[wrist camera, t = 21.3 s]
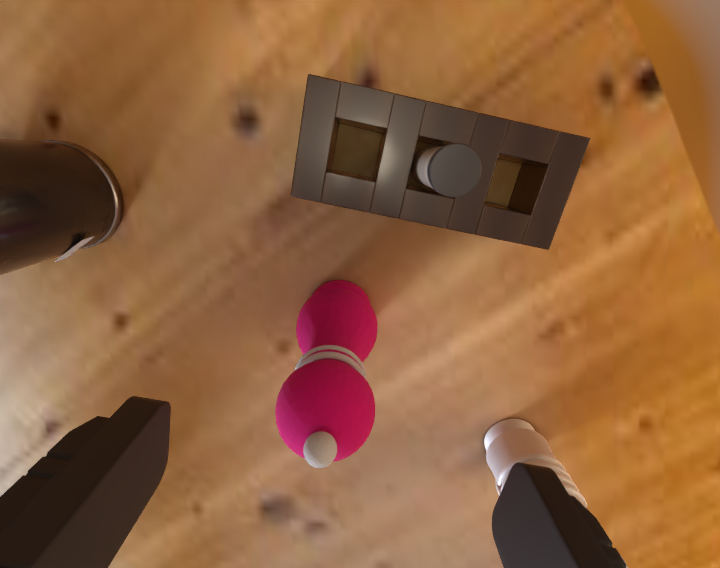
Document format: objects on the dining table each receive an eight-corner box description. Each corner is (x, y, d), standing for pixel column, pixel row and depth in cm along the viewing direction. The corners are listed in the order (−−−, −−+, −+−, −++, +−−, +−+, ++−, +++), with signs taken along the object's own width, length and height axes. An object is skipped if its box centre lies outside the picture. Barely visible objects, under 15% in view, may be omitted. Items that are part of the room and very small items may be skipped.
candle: (472, 424, 42) (528, 560, 28) (534, 407, 42) (623, 538, 27) (486, 470, 44) (545, 618, 30) (545, 454, 44) (634, 598, 29)
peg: (404, 180, 34) (423, 191, 23) (413, 143, 33) (437, 137, 22) (438, 188, 34) (473, 202, 24) (448, 151, 33) (488, 149, 23)
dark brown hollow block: (300, 190, 34) (290, 196, 29) (315, 85, 31) (307, 73, 27) (523, 237, 35) (548, 249, 31) (557, 140, 33) (590, 138, 28)
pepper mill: (311, 267, 36) (258, 387, 18) (383, 284, 37) (407, 418, 18) (297, 332, 39) (237, 502, 20) (366, 347, 39) (370, 526, 20)
